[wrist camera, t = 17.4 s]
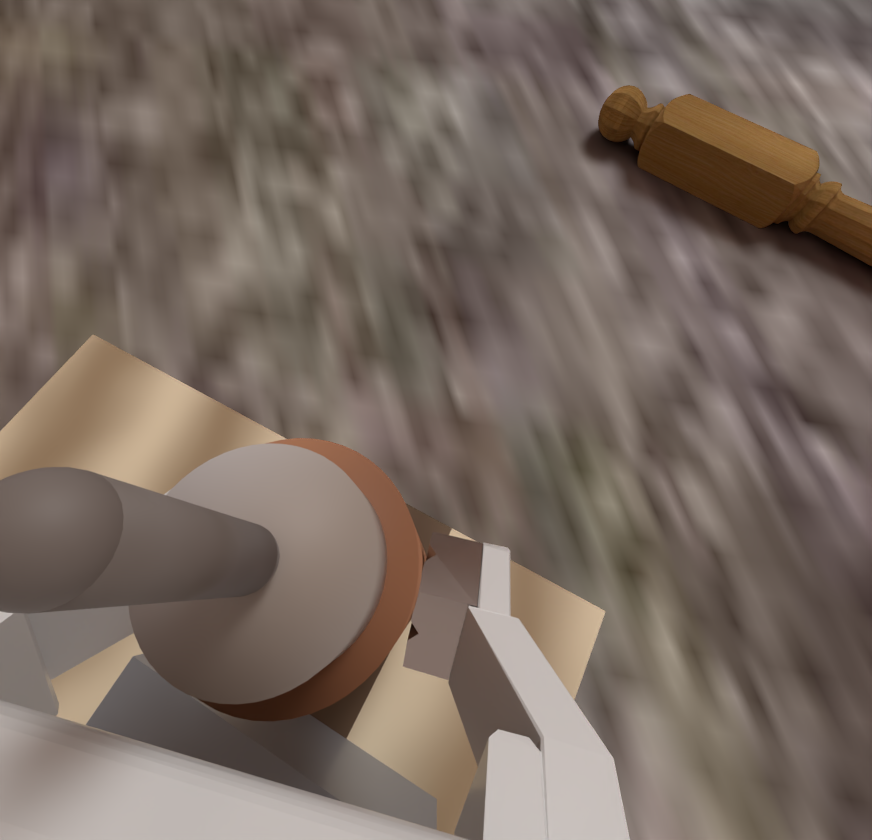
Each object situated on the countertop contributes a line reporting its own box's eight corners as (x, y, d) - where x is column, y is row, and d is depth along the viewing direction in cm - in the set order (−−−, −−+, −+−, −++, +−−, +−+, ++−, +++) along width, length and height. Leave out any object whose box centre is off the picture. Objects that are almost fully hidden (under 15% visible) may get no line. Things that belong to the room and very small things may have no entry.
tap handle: (1225, 389, 17) (600, 92, 24) (1113, 416, 20) (582, 143, 27) (1233, 339, 18) (627, 65, 25) (1124, 372, 21) (607, 118, 28)
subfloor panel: (-182, 663, 16) (-228, 670, 15) (111, 347, 21) (92, 334, 20) (397, 1156, 12) (393, 1216, 11) (594, 609, 17) (605, 611, 16)
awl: (305, 597, 14) (-731, 728, 2) (361, 503, 15) (13, 149, 3) (396, 653, 13) (-111, 1584, 1) (447, 551, 14) (512, 380, 2)
